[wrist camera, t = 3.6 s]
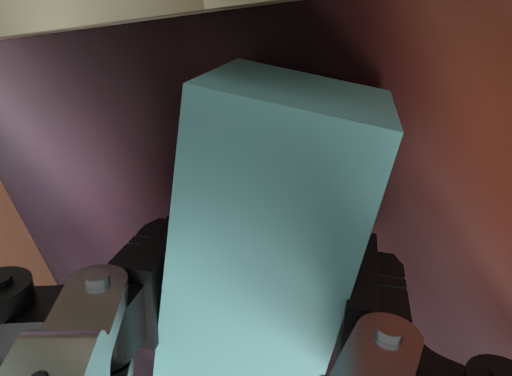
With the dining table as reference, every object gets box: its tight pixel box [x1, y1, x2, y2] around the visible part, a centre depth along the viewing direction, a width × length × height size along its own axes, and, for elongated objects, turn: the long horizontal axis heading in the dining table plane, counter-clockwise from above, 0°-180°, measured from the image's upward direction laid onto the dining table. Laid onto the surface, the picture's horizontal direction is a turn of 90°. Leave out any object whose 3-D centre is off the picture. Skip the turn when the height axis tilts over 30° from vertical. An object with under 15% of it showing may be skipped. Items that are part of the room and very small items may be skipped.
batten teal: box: [153, 58, 404, 376], centre depth 12 cm, size 10×4×4 cm, turn 170°
